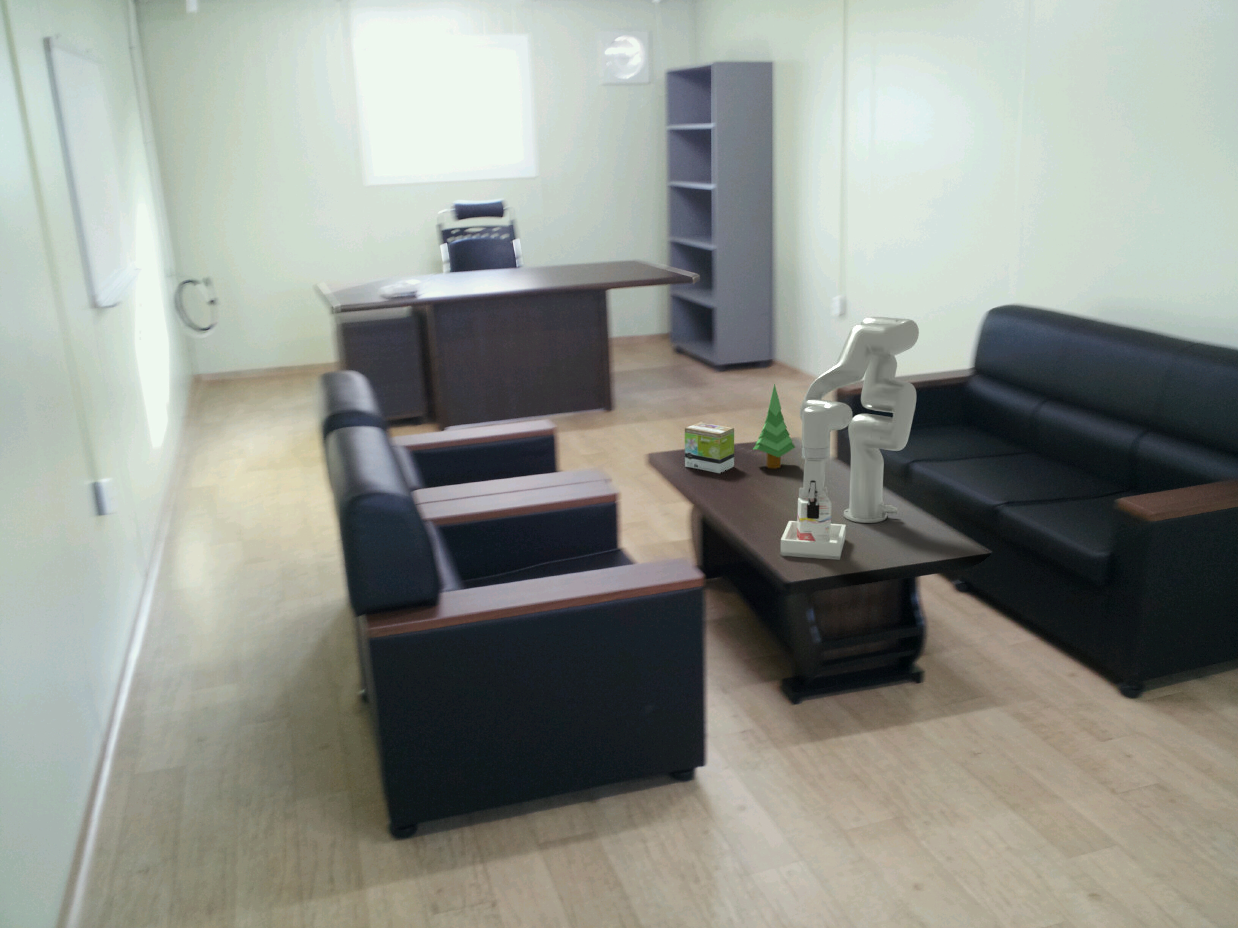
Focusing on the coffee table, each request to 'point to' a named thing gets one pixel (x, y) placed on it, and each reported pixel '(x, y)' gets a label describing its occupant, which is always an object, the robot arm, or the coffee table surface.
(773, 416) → the decorative tree
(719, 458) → the tea box
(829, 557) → the box
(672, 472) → the coffee table surface
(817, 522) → the ink cartridge box
